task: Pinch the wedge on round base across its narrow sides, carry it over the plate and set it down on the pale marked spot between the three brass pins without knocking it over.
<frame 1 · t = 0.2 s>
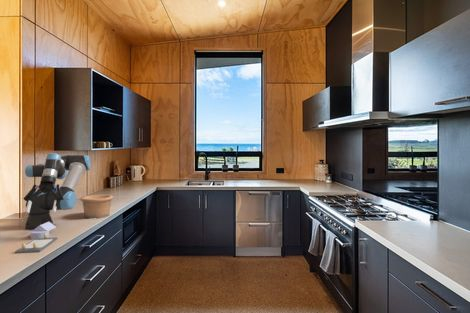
hand: (40, 212, 171), 15 cm above the worktop, tool tilted 30°, fingers open, 13 cm apart
wedge on round base: (42, 236, 177), on the worktop
pin plate: (37, 245, 159), on the worktop
pottery: (97, 216, 227), on the worktop
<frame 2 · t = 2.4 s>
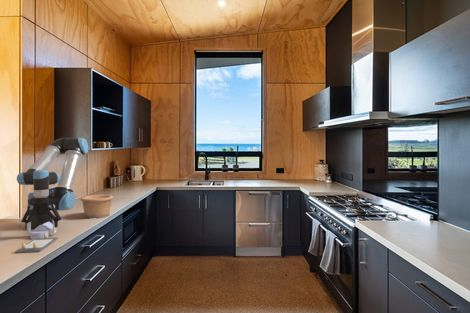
hand: (41, 233, 177), 1 cm above the worktop, tool pointing down, fingers open, 13 cm apart
nothing on the worktop moved.
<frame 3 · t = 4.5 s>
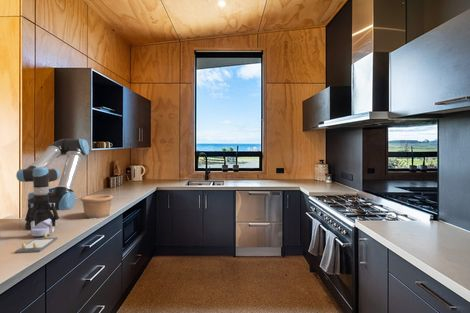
hand: (42, 232, 178), 2 cm above the worktop, tool pointing down, fingers closed on wedge on round base, 10 cm apart
wedge on round base: (42, 233, 178), point 1 cm above the worktop, touching gripper
everything else where it was.
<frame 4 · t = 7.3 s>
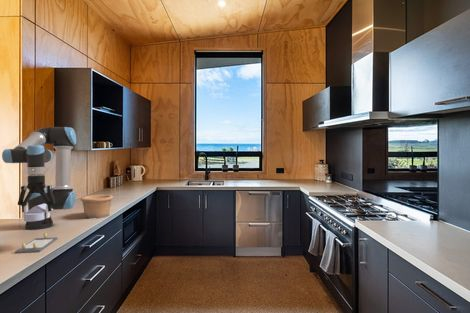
hand: (37, 218, 159), 15 cm above the worktop, tool pointing down, fingers closed on wedge on round base, 10 cm apart
wedge on round base: (37, 218, 159), point 14 cm above the worktop, touching gripper
everything else where it was.
when the fingers open (2 cm above the worktop, at t = 10.0 s): wedge on round base stays where it is, resting on pin plate.
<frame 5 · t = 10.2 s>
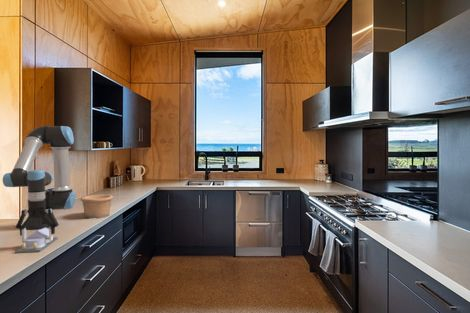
hand: (37, 241, 159), 2 cm above the worktop, tool pointing down, fingers open, 12 cm apart
wedge on round base: (37, 243, 159), point 1 cm above the worktop, touching pin plate
everything else where it was.
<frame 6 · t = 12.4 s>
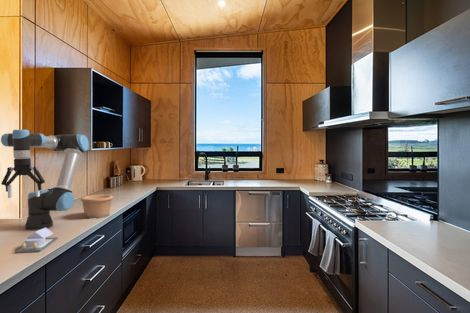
hand: (24, 197, 167), 24 cm above the worktop, tool pointing down, fingers open, 13 cm apart
nothing on the worktop moved.
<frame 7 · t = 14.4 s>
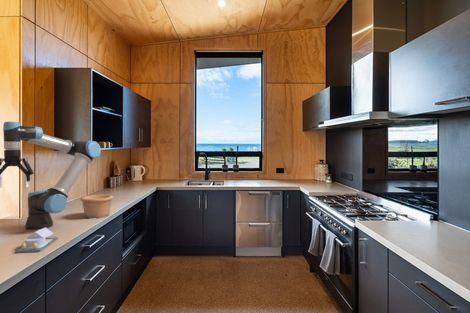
hand: (13, 187, 171), 29 cm above the worktop, tool pointing down, fingers open, 13 cm apart
nothing on the worktop moved.
at the end: wedge on round base 0.1 cm off-centre on the pin plate, point 0.9 cm above the pin plate's base; wedge on round base tilted 1°; the gripper is holding nothing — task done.
